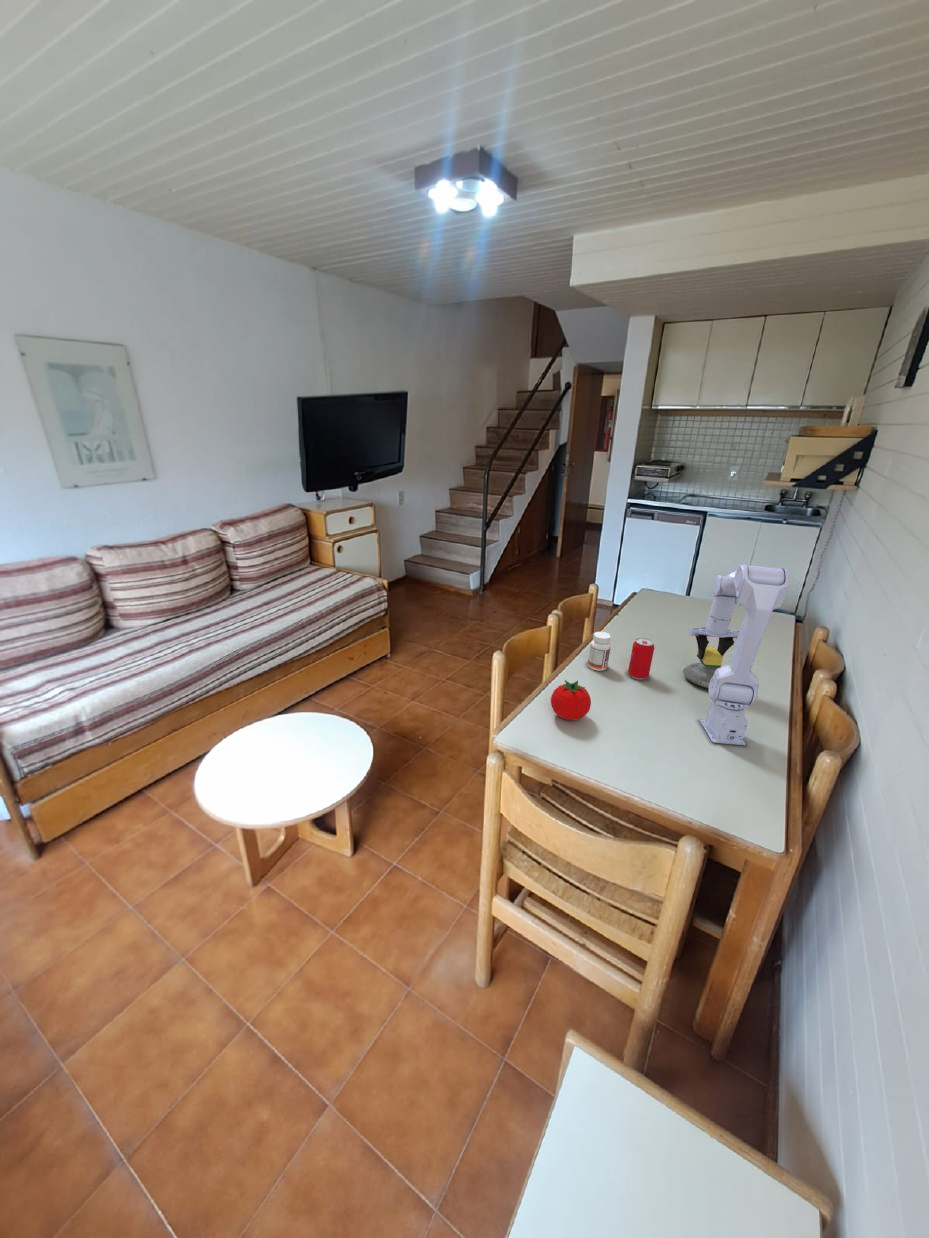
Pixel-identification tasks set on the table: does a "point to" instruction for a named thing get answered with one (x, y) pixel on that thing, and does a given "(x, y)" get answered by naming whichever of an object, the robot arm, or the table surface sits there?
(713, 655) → the sponge
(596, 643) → the pill bottle
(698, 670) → the flying saucer
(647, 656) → the beverage can
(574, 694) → the tomato
